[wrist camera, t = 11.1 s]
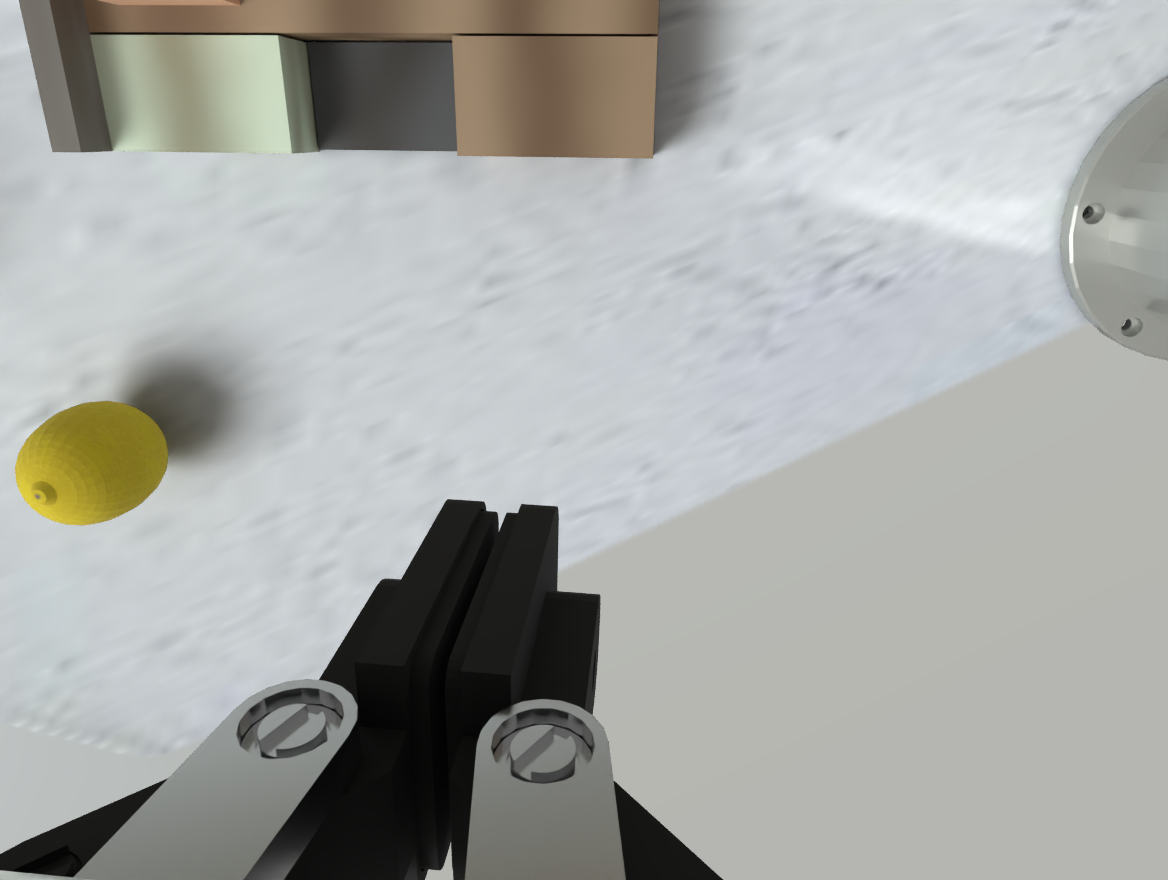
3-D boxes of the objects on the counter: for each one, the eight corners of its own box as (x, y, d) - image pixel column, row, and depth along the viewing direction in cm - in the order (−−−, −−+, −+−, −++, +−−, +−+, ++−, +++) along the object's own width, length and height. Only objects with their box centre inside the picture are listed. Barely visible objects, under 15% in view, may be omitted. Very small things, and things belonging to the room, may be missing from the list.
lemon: (204, 402, 41) (106, 463, 33) (189, 493, 43) (93, 569, 35) (100, 366, 40) (-23, 420, 33) (89, 459, 42) (-29, 529, 35)
